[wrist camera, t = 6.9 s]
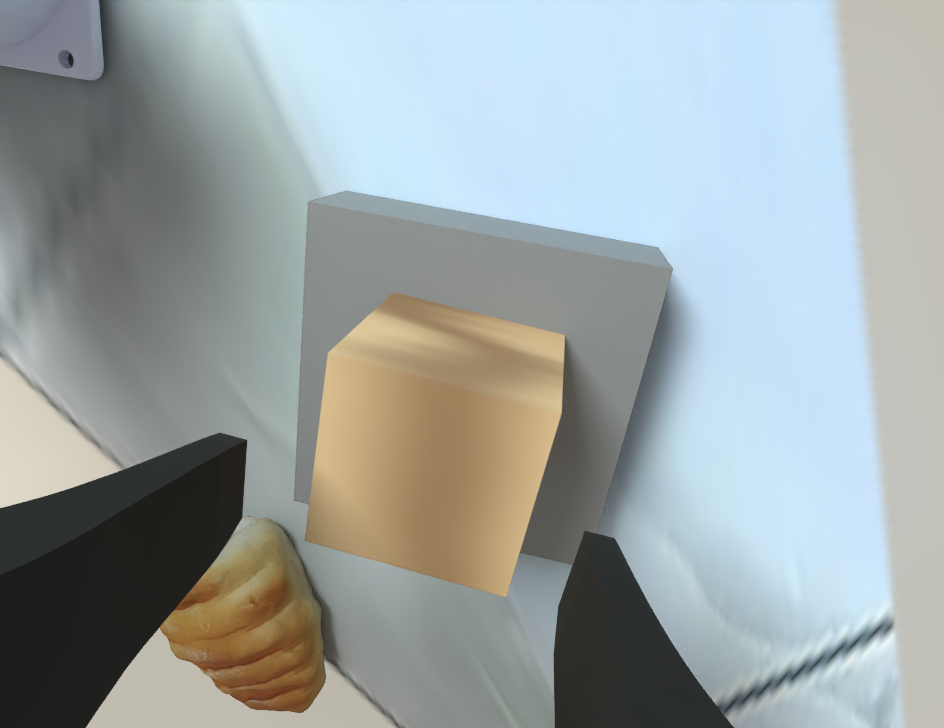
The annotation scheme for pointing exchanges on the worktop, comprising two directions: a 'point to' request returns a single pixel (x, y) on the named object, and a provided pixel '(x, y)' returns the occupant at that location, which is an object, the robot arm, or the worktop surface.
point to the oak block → (435, 440)
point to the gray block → (501, 296)
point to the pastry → (254, 622)
